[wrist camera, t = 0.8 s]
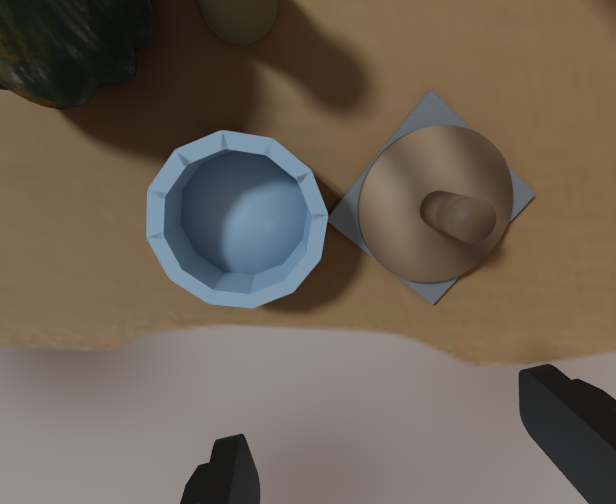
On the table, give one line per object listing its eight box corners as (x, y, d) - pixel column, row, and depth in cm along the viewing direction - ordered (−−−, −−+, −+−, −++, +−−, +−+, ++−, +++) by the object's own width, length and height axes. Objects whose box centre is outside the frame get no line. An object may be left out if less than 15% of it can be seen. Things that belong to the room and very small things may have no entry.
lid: (431, 89, 28) (480, 68, 21) (535, 194, 31) (606, 204, 24) (325, 220, 30) (338, 238, 23) (432, 304, 33) (471, 342, 27)
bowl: (227, 103, 27) (215, 90, 22) (346, 201, 30) (360, 210, 25) (142, 226, 30) (111, 241, 24) (261, 306, 33) (257, 335, 27)
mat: (428, 91, 28) (431, 89, 28) (531, 193, 32) (535, 194, 31) (325, 219, 31) (326, 220, 30) (430, 302, 34) (432, 305, 33)
